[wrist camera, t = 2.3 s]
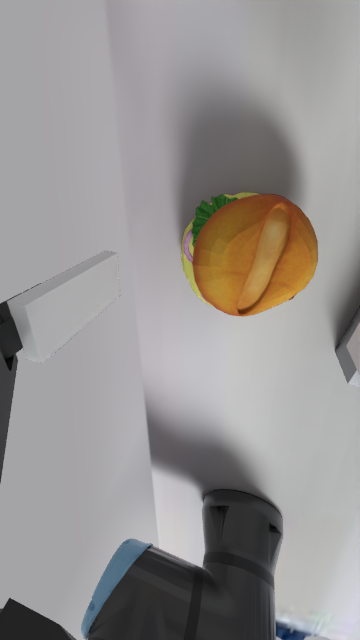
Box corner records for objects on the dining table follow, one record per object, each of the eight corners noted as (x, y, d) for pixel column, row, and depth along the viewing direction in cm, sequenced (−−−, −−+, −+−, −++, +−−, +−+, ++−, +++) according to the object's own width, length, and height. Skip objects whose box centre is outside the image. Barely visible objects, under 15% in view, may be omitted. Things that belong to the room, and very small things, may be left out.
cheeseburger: (166, 213, 24) (149, 219, 15) (277, 172, 22) (332, 151, 13) (196, 304, 28) (197, 351, 19) (292, 276, 26) (343, 314, 17)
